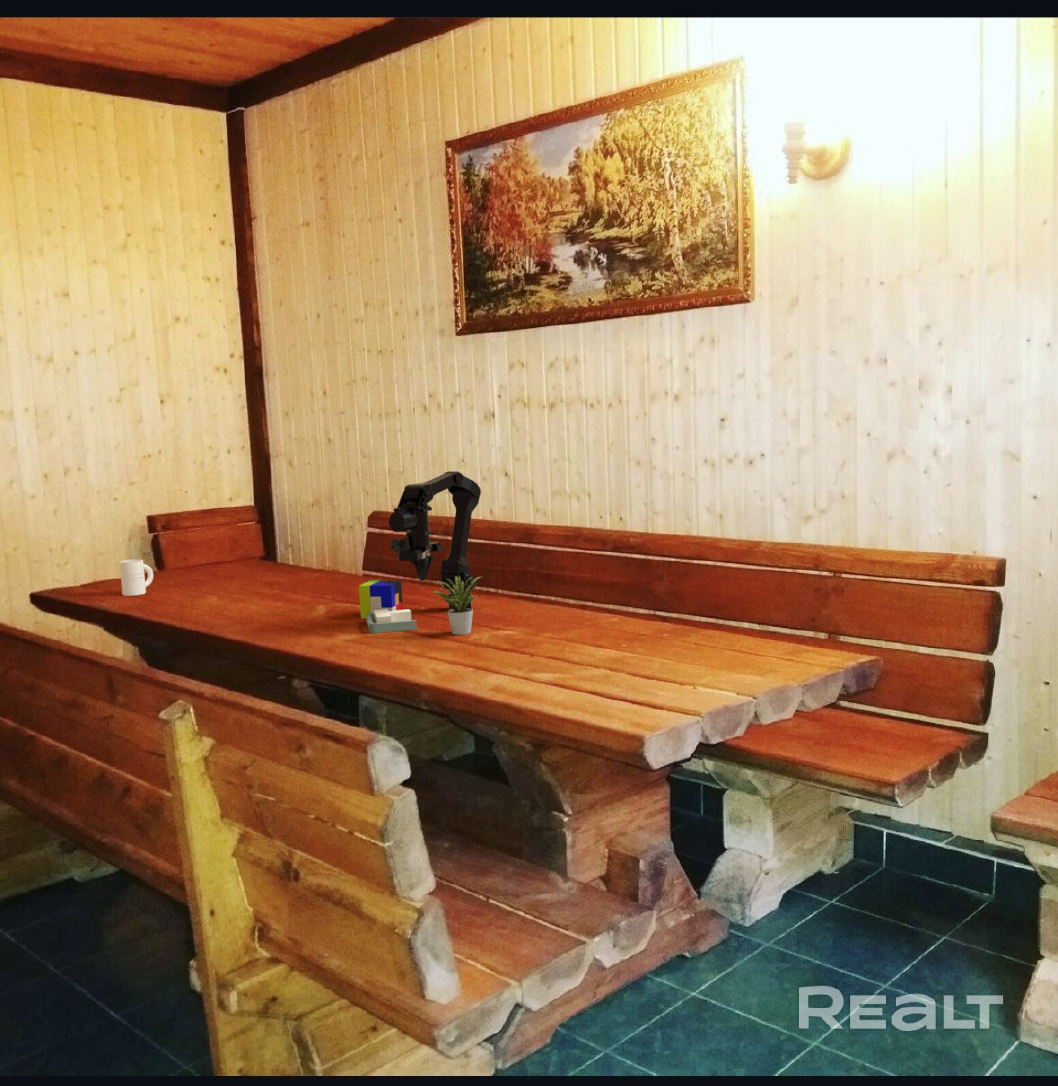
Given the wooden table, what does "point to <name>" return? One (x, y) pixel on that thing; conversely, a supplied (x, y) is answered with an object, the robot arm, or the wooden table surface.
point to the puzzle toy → (380, 596)
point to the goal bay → (389, 625)
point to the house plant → (459, 606)
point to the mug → (134, 577)
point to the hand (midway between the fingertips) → (422, 580)
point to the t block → (391, 615)
